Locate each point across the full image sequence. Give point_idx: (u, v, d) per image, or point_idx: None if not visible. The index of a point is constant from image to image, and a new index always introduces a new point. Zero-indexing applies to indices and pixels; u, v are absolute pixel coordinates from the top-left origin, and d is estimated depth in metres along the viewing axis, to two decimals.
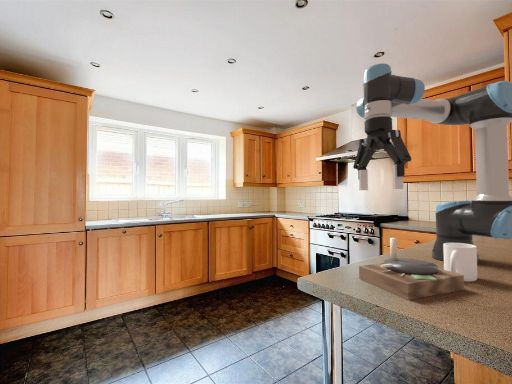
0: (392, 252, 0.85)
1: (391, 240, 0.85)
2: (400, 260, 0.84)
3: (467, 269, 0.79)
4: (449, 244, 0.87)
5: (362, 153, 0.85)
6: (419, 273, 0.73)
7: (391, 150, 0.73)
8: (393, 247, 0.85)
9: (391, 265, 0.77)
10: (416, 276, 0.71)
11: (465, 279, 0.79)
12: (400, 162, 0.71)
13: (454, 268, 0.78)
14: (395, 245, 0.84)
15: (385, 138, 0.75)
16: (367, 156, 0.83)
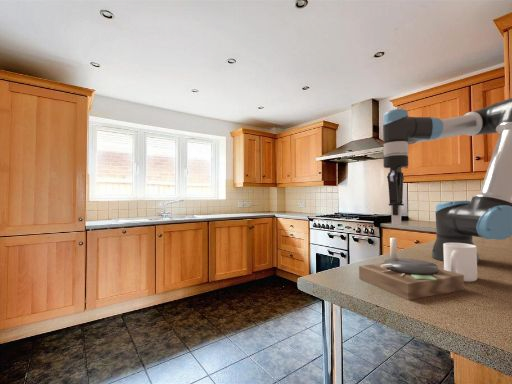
0: (392, 252, 0.85)
1: (391, 240, 0.85)
2: (400, 260, 0.84)
3: (467, 269, 0.79)
4: (449, 244, 0.87)
5: None
6: (419, 273, 0.73)
7: None
8: (393, 247, 0.85)
9: (391, 265, 0.77)
10: (416, 276, 0.71)
11: (465, 279, 0.79)
12: (392, 205, 0.89)
13: (454, 268, 0.78)
14: (395, 245, 0.84)
15: None
16: None
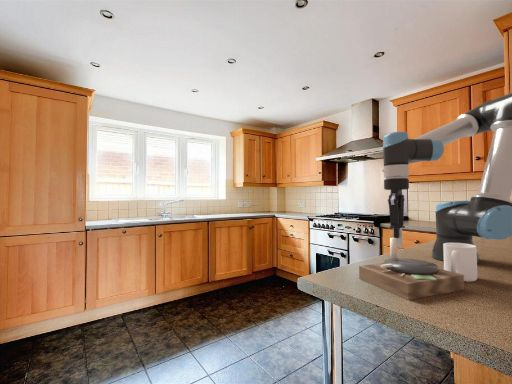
0: (392, 252, 0.85)
1: (391, 240, 0.85)
2: (400, 260, 0.84)
3: (467, 269, 0.79)
4: (449, 244, 0.87)
5: None
6: (419, 273, 0.73)
7: None
8: (393, 247, 0.85)
9: (391, 265, 0.77)
10: (416, 276, 0.71)
11: (465, 279, 0.79)
12: (393, 228, 0.89)
13: (454, 268, 0.78)
14: (395, 245, 0.84)
15: None
16: None
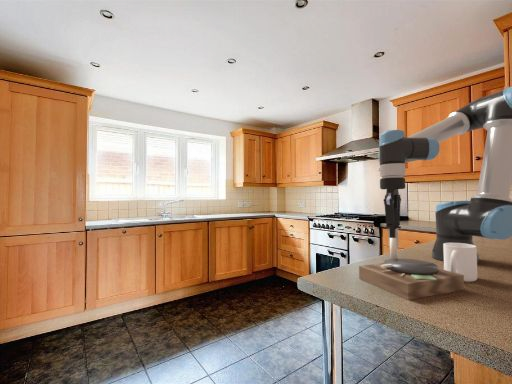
0: (392, 252, 0.85)
1: (391, 240, 0.85)
2: (400, 260, 0.84)
3: (467, 269, 0.79)
4: (449, 244, 0.87)
5: None
6: (419, 273, 0.73)
7: None
8: (393, 247, 0.85)
9: (391, 265, 0.77)
10: (416, 276, 0.71)
11: (465, 279, 0.79)
12: (389, 228, 0.87)
13: (454, 268, 0.78)
14: (395, 245, 0.84)
15: None
16: None
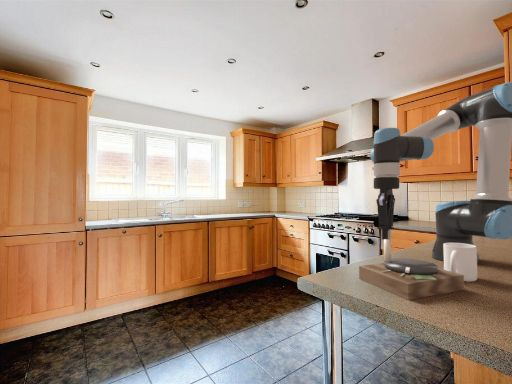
0: (388, 254, 0.82)
1: (387, 242, 0.82)
2: (395, 261, 0.82)
3: (467, 269, 0.79)
4: (449, 244, 0.87)
5: None
6: (434, 272, 0.73)
7: None
8: (389, 249, 0.82)
9: (409, 268, 0.73)
10: (416, 276, 0.71)
11: (465, 279, 0.79)
12: (382, 229, 0.85)
13: (454, 268, 0.78)
14: (390, 246, 0.82)
15: None
16: None
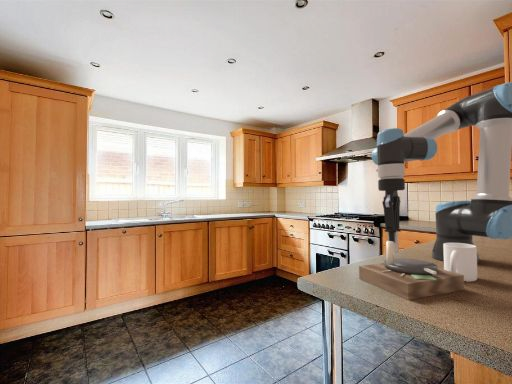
0: (393, 257, 0.79)
1: (392, 244, 0.79)
2: (395, 263, 0.80)
3: (467, 269, 0.79)
4: (449, 244, 0.87)
5: None
6: None
7: None
8: None
9: None
10: (416, 276, 0.71)
11: (465, 279, 0.79)
12: (388, 232, 0.83)
13: (454, 268, 0.78)
14: None
15: (386, 200, 0.82)
16: None
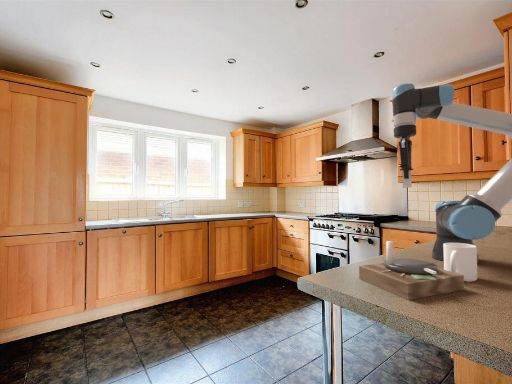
0: (393, 257, 0.79)
1: (392, 244, 0.79)
2: (395, 263, 0.80)
3: (467, 269, 0.79)
4: (449, 244, 0.87)
5: None
6: None
7: None
8: None
9: None
10: (416, 276, 0.71)
11: (465, 279, 0.79)
12: (403, 170, 1.00)
13: (454, 268, 0.78)
14: None
15: None
16: None
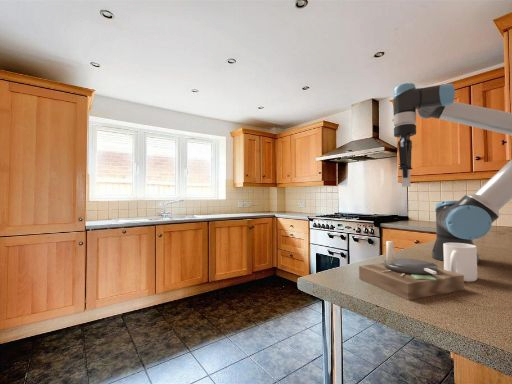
0: (393, 257, 0.79)
1: (392, 244, 0.79)
2: (395, 263, 0.80)
3: (467, 269, 0.79)
4: (449, 244, 0.87)
5: None
6: None
7: None
8: None
9: None
10: (416, 276, 0.71)
11: (465, 279, 0.79)
12: (402, 169, 1.01)
13: (454, 268, 0.78)
14: None
15: None
16: None
